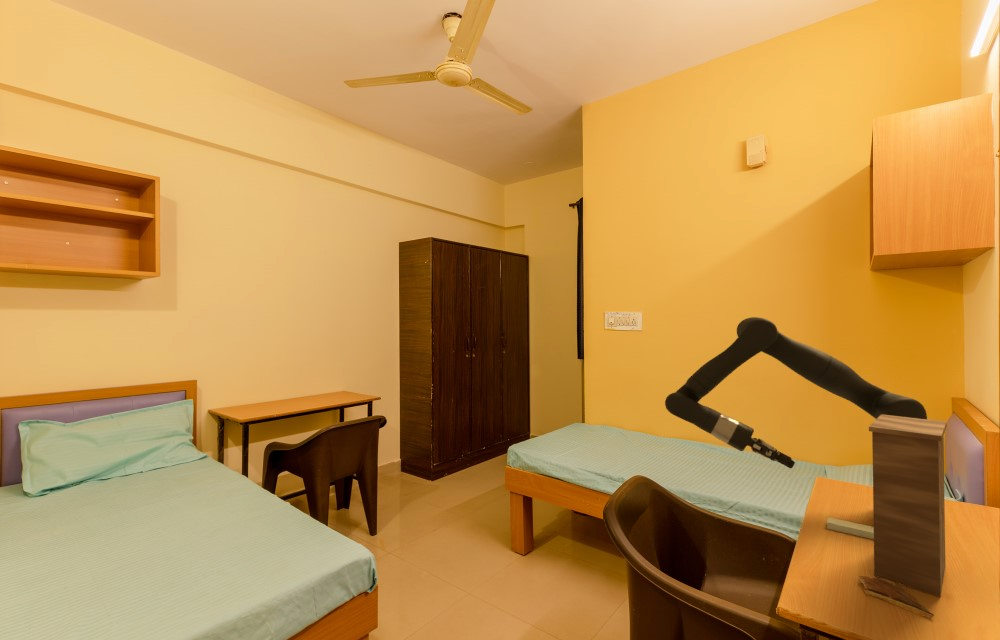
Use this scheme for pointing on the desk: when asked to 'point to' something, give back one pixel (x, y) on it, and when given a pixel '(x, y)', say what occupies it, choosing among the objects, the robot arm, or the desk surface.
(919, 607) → the shard
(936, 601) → the desk surface
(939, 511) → the walnut stand
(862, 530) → the cream plank with block
